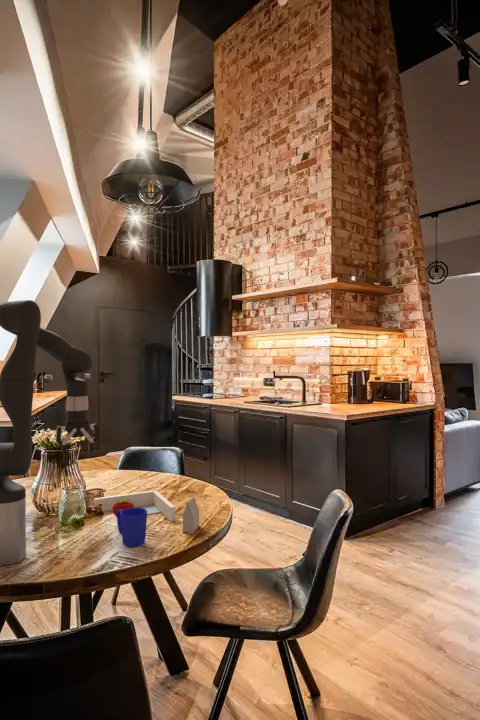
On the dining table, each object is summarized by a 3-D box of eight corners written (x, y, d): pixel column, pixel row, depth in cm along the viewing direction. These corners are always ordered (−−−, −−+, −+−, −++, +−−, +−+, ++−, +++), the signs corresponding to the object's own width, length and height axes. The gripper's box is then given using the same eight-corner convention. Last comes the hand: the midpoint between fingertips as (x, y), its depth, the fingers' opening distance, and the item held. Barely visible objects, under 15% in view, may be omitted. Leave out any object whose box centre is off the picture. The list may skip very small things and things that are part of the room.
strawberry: (132, 526, 160) (132, 497, 160) (110, 526, 160) (110, 497, 160) (136, 520, 166) (135, 492, 166) (114, 520, 166) (114, 492, 166)
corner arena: (175, 520, 165) (175, 506, 165) (106, 532, 155) (106, 517, 155) (156, 502, 187) (156, 489, 187) (94, 511, 176) (93, 498, 176)
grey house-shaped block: (199, 526, 160) (198, 496, 160) (193, 533, 154) (193, 502, 154) (188, 525, 161) (188, 496, 161) (182, 532, 154) (182, 502, 154)
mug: (128, 534, 153) (128, 503, 153) (152, 543, 145) (152, 510, 145) (107, 541, 147) (107, 509, 147) (131, 551, 139) (131, 518, 139)
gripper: (57, 410, 161) (57, 458, 161) (99, 408, 168) (100, 453, 168) (54, 409, 167) (55, 454, 167) (95, 406, 174) (95, 450, 174)
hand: (77, 454), depth 167 cm, fingers open, 8 cm apart
